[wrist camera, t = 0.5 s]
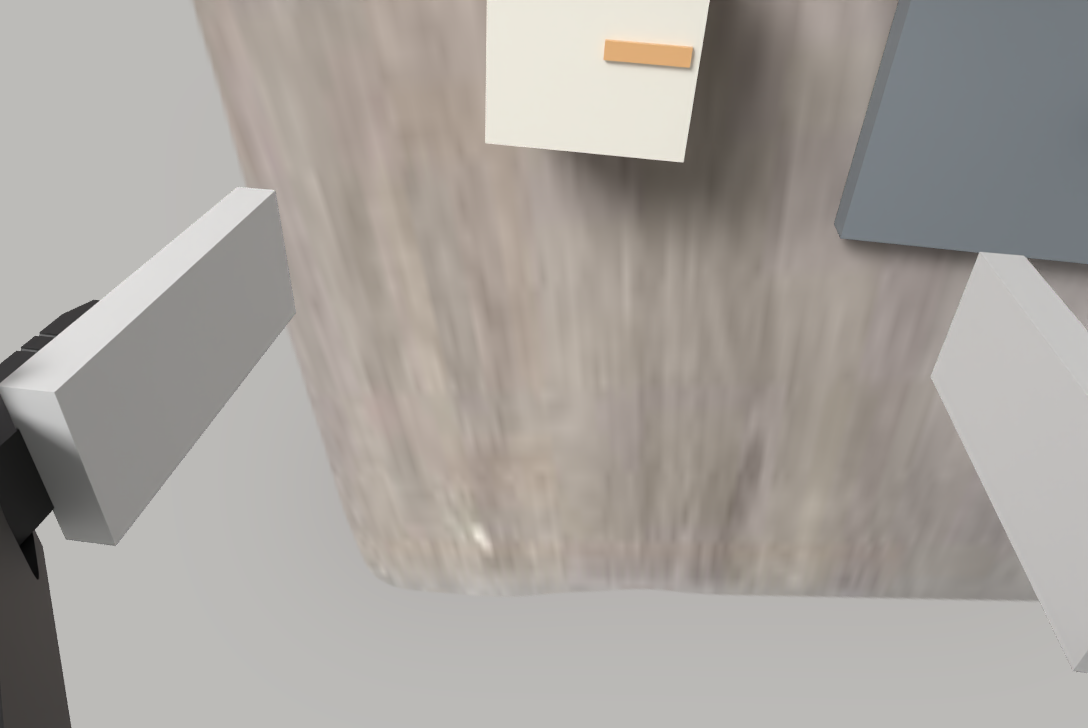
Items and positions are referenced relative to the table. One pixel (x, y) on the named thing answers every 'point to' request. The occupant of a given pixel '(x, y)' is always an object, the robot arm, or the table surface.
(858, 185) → the shaft plate
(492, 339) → the table surface
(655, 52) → the cream cube
